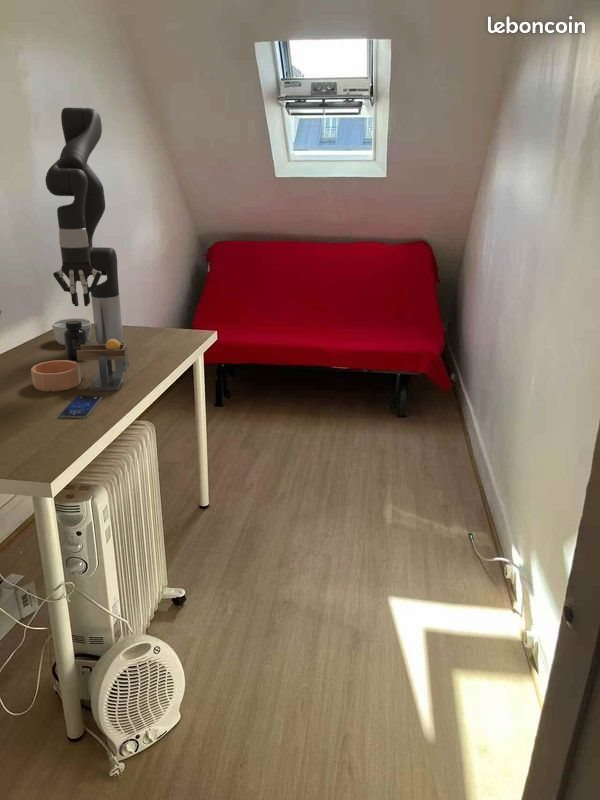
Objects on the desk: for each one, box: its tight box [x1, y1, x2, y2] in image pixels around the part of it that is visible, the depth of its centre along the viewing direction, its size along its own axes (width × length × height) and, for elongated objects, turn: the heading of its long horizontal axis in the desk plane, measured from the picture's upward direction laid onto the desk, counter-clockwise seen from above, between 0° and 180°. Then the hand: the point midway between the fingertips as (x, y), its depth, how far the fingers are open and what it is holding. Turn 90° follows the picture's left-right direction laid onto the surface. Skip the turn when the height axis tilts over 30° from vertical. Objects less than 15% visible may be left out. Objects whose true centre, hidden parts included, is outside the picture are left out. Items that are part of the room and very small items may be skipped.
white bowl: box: [51, 317, 92, 346], centre depth 213 cm, size 13×13×7 cm
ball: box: [106, 339, 120, 350], centre depth 171 cm, size 4×4×4 cm
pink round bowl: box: [30, 359, 82, 392], centre depth 172 cm, size 13×13×5 cm
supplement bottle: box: [64, 321, 87, 361], centre depth 194 cm, size 7×7×12 cm
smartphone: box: [58, 394, 103, 420], centre depth 157 cm, size 7×1×15 cm
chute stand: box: [88, 355, 126, 392], centre depth 173 cm, size 14×8×10 cm, turn 9°
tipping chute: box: [76, 341, 130, 373], centre depth 176 cm, size 15×13×7 cm
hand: (81, 305), depth 174 cm, fingers closed
